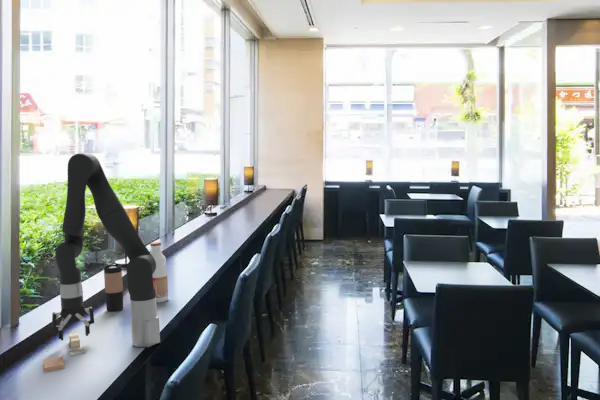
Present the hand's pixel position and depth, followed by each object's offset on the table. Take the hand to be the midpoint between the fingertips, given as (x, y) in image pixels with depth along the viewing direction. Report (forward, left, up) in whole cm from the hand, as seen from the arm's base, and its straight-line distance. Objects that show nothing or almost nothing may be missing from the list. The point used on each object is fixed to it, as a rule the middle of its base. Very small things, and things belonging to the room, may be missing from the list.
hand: (74, 337), depth 198 cm
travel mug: (+23, -39, -3) cm, 45 cm away
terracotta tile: (-7, +14, -3) cm, 15 cm away
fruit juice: (+16, -59, -3) cm, 61 cm away
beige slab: (-2, +1, -3) cm, 4 cm away
